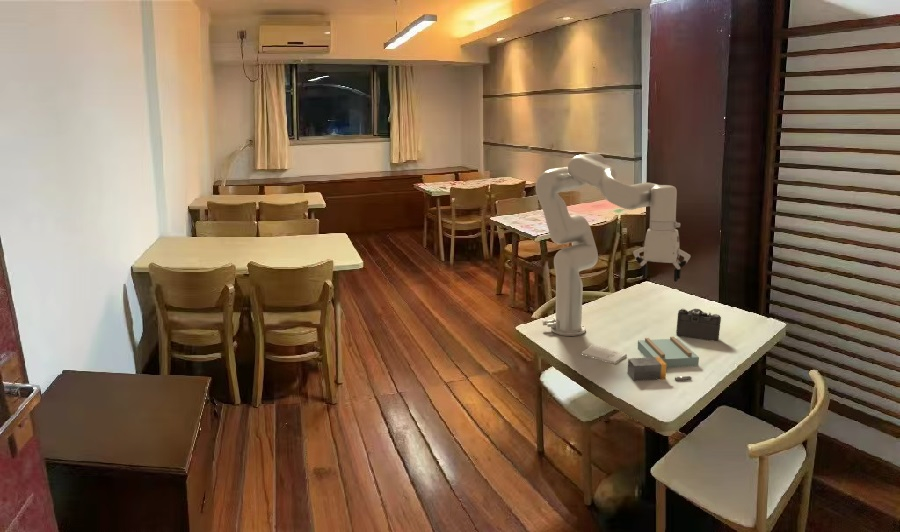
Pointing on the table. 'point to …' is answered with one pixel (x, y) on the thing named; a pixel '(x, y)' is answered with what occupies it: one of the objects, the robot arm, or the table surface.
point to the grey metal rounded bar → (683, 378)
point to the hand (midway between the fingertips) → (660, 279)
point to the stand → (669, 352)
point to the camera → (698, 325)
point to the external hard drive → (604, 354)
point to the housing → (646, 368)
